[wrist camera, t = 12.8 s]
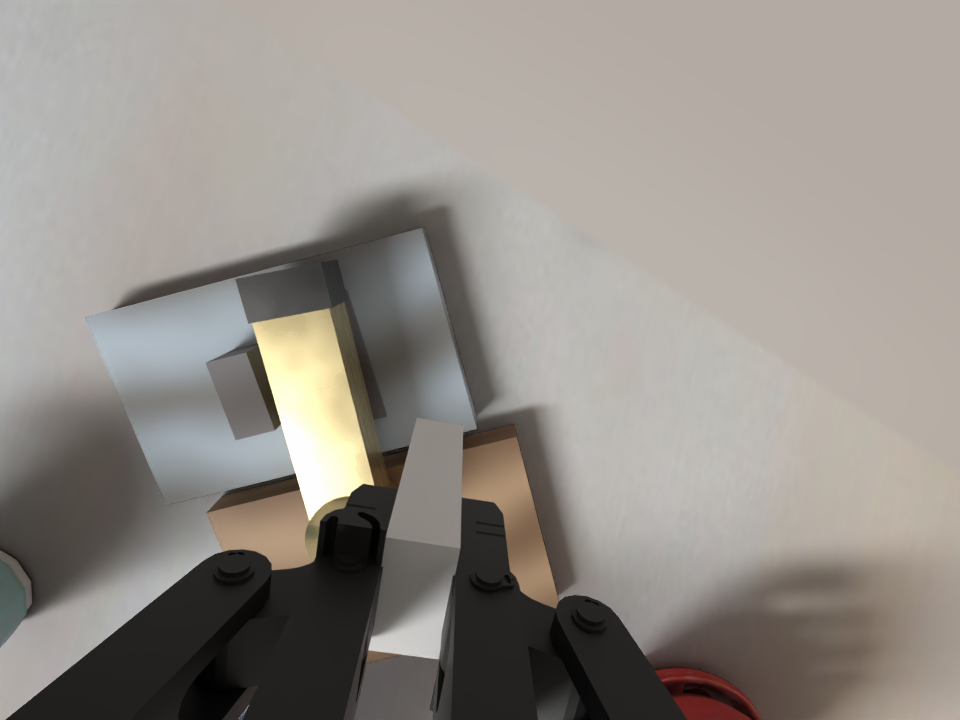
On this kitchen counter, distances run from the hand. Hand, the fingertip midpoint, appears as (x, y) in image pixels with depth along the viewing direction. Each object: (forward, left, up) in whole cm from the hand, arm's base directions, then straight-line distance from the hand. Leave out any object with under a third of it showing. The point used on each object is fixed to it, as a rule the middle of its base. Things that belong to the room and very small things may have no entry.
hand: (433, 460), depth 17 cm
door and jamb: (+5, -7, -13) cm, 16 cm away
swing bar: (+1, -6, -11) cm, 12 cm away
